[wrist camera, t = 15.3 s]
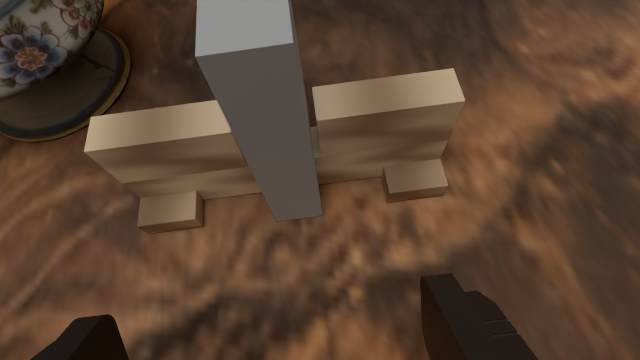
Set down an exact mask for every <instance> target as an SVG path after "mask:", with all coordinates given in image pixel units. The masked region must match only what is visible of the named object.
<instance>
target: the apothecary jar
mask: <svg viewBox="0 0 640 360" xmlns="http://www.w3.org/2000/svg"><path fill="white" fill-rule="evenodd" d="M103 8H104V0H0V133H1V134H3V135H4V136H6V137H8V138H11V139H14V140H18V141H25V142H36V141H44V140H51V139H55V138H59V137H62V136H65V135H68V134H70V133H73V132H75V131H77V130H79V129H81V128H83V127H84V126H86V125H88V124H89V123H90V119H91V117H94V116H101V115H102V114H103V113H104V112H105V111H106V110H107V109H108V108H109V107H110V106H111V105H112V104H113V103H114V101H115V100H116V99H117V98H118V96H119V95H120V94H121V92H122V90H123V88H124V86H125V84H126V82H127V80H128V77H129V72H130V55H129V52H128V49H127V47H126V45H125V44H124V42H123V41H122V40H121V39H120V38H119V37H118V36H116V35H115V34H114V33H112V32H110V31H108V30H105V29H102V28H99V27H98V25H99V23H100V20H101V17H102V13H103Z"/></svg>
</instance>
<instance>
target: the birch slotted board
mask: <svg viewBox="0 0 640 360" xmlns="http://www.w3.org/2000/svg"><path fill="white" fill-rule="evenodd" d="M312 90H313V98H314V106H315V113H316V121H317V127H310V131H311V138H312V146H313V153H314V161H315V168H316V174H317V180H318V185H320V184H328V183H335V182H343V181H351V180H358V179H366V178H373V177H381V176H382V180H383V184H384V189H385V194H386V199H387V203H389V202H396V201H404V200H412V199H419V198H427V197H434V196H442V195H443V194H444V192H445V191H446V189H447V187H448V183H447V180H446V177H445V173H444V170H443V167H442V163H441V160H440V158H441V155H442V153H443V151H444V149H445V146H446V144H447V142H448V139H449V137H450V135H451V133H452V130H453V128H454V126H455V123H456V121H457V119H458V117H459V114H460V112H461V110H462V107H463V105H464V103H465V99H464V96H463V93H462V91H461V88H460V85H459V82H458V80H457V77H456V74H455V71H454V68H452V69H444V70H437V71H429V72H422V73H414V74H407V75H399V76H392V77H385V78H377V79H370V80H362V81H355V82H347V83H340V84H332V85H325V86H318V87H312ZM84 152H85V153H86V154H87V155H88V156H89V157H91V158H92V159H93V160H94V161H96V162H97V163H98V164H99V165H101V166H102V167H103V168H104V169H105V170H107V171H108V172H109V173H110V174H112V175H113V176H114V177H115V178H116V179H118V180H119V181H120V182H121V183H123V184H124V185H125V186H126V187H127V188H129V189H130V190H131V191H132V192H134V193H135V194H136V195H137V196H138V197H140V207H139V216H138V225H137V227H139V228H140V229H142V230H143V231H145V232H146V233H148V234H152V233H160V232H167V231H175V230H182V229H190V228H198V227H203V219H204V200H206V199H214V198H222V197H229V196H237V195H244V194H252V193H260V192H262V191H261V189H260V187H259V185H258V183H257V181H256V179H255V177H254V175H253V173H252V171H251V169H250V167H249V165H248V163H247V161H246V159H245V157H244V155H243V153H242V151H241V149H240V147H239V145H238V143H237V141H236V139H235V137H234V135H233V132H232V130H231V128H230V126H229V124H228V122H227V120H226V118H225V116H224V114H223V112H222V110H221V108H220V106H219V104H218V102H217V100H213V101H206V102H199V103H191V104H184V105H176V106H169V107H161V108H154V109H146V110H139V111H132V112H124V113H117V114H109V115H102V116H94V117H91V119H90V124H89V129H88V134H87V139H86V144H85V149H84Z"/></svg>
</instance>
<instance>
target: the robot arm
mask: <svg viewBox="0 0 640 360" xmlns="http://www.w3.org/2000/svg"><path fill="white" fill-rule="evenodd" d="M420 289H421V311H422V329H423V336H424V341H425V345H426V348H427V351H428V354H429V357H430V359H431V360H538V358H537V357H536V356H535V355H534V353H533V352H532V351H531V349H530V348H529V347H528V345H527V344H526V343H525V341H524V340H523V339H522V337H521V336H520V335H518V334H517V331H516V330H515V328H514V327H513V326H512V324H511V323H510V322H509V321H507V318H506V316H505V315H504V314H503V312H502V311H501V310H500V309H499V307H498V306H497V305H496V303H495V302H493V301H492V300H490V299H489V298H487V297H486V296H484V295H483V294H481V293H480V292H478V291H470V292H464V291H463V289H462V288H461V286H460V285H459V283H458V282H457V280H456V279H455V277H454V276H453V274H451V273H447V274H439V275H430V276H422V277H421V280H420ZM30 360H129V358H128V356H127V353H126V350H125V347H124V344H123V341H122V338H121V336H120V333H119V330H118V327H117V324H116V322H115V319H114V318H113V317H112V316H111V315H108V314H107V315H99V316H90V317H82V318H77V319H75V320H74V321H73V322H72V323H71V324H70V325H69V326H68V327H67V328H66V330H65V331H64V332H63V333H62V334H61V335H60V336H59V337H58V339H57V340H56V341H54V342H53V343H52V344H50V345H49V346H47V347H46V348H45V349H43V350H42V351H41V352H39V353H38V354H37V355H35V356H34V357H33V358H31V359H30Z"/></svg>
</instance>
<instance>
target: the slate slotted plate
mask: <svg viewBox="0 0 640 360" xmlns="http://www.w3.org/2000/svg"><path fill="white" fill-rule="evenodd" d="M195 57H196V59H197V61H198V63H199V66H200V68H201V70H202V72H203V74H204V76H205V78H206V80H207V82H208V84H209V86H210V88H211V90H212V92H213V94H214V96H215V98H216V100H217V102H218V104H219V106H220V108H221V110H222V112H223V114H224V116H225V118H226V120H227V122H228V124H229V126H230V128H231V130H232V132H233V135H234V137H235V139H236V141H237V143H238V145H239V147H240V149H241V151H242V153H243V155H244V157H245V159H246V161H247V163H248V165H249V167H250V169H251V171H252V173H253V175H254V177H255V179H256V181H257V183H258V185H259V187H260V189H261V191H262V193H263V195H264V197H265V199H266V201H267V204H268V206H269V208H270V210H271V212H272V214H273V216H274V218H275V220H276V222H279V221H286V220H293V219H300V218H307V217H314V216H322V215H323V214H322V206H321V199H320V192H319V186H318V180H317V174H316V168H315V161H314V153H313V146H312V138H311V131H310V127H311V125H310V119H309V113H308V106H307V100H306V94H305V87H304V81H303V75H302V68H301V62H300V56H299V49H298V43H297V36H296V30H295V24H294V17H293V11H292V5H291V0H197V21H196V48H195Z"/></svg>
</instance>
